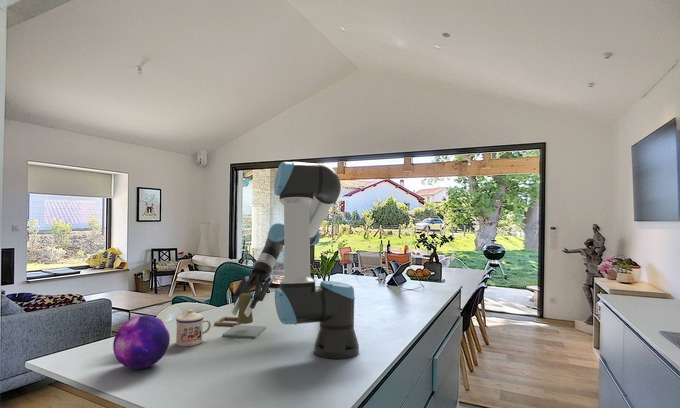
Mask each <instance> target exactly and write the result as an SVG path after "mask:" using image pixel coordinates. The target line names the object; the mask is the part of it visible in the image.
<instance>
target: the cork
mask: <svg viewBox="0 0 680 408" xmlns="http://www.w3.org/2000/svg"><path fill="white" fill-rule="evenodd" d="M253 297H254V296H253V295H252V294H251V293H249V292H248V293H243V294H241V295H240V296H239V301H240V308H239V310H238V313H237V314H238V315H237V317H238V320H237V321H236V322H237V323H240V324H239V325H247V324H251V323H253V322H254V317H253V310H252V311H251V313H250V315H249V317H246V315H245V314H244V312H245V310H246V308H247V306H248V304H249V302H250V300H251V299H254V298H253Z"/></svg>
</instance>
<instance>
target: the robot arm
mask: <svg viewBox="0 0 680 408" xmlns="http://www.w3.org/2000/svg"><path fill="white" fill-rule="evenodd" d="M339 177H340V176H339V175H338V174H337V172H336V170H334V169H333V168H332V167H331V166H330V165H327V164H325V163H311V162H300V161H283V162H281V163H280V164H279V165H278V167H277V169H276V175H275V178H274V183H273V184H274V185H273V186H274V187H273V189H274V190H273V191H274V194H275V196H277V197H279V202H280V204H281V205H282V206H283V223H280V222H275V223H273V224H272V225H271V226H270V228H269V230H268V233H267V238H266V241H265V244H264V247H263V249H262V250H261V252H260V254H259V256H258V258H257V260H256V262H255V263H254V266H253V267H252V271H251V273H250V274H249V275H248V276H246V275H242V276H241V281H240V283H239V285H238V286H237V288H236V290H235V292H234V294H233V296H234V297H235V300H234V302H233V307H232V309H231V310H230V312H231V314H232V315H233V316H236V315H237V314H238V313H239V308H240V301H239V296H240V295H241V294H243V293H249V291H250V290H251V289H252V288H254V286H255V288H254V293H253V296H252V297H253V298H252V299H251V300H250V302H249V304H248V306H247V308H246V310H245V312H244V314H245V315H246V317H249V315H250V313H251V311H252V312H253V310H255V307H256V306H257V304H258V302H263V301H264V299H265V297H266V295H267V292H268V291H269V288H270V286H271V285H272V284H273V280H272V278H271V277H270V274H271V273H272V270H273V268H274V267H275V264H276V262H277V260H278V258H279V256H280V254H281V252H282V251H284V252H283V253H284V254H283V255H284V259H283V260H284V261H283V262H284V277H283V279H282V280H281V281H280V282H279V287H277V288H276V289H275V290H274V304H275V311H276V313H277V314H276V315H277V317H278V320H279V321H280V322H281V324H283V325H295V326H296V325H300V324H301V325H302V324H313V323H319V330H318V333H317V335H316V339H315V341H314V344H313V346H314V347H313V348H314V349H313V350H314V353H315V355H316V356H319V357H321V358H326V359H332V360H342V359H343V360H344V359H349V358H352V357H355V356H357V355H358V354H359V352H360V346H359V340H358V338H357V334H356V331H355V299H356V298H355V288H354V287H353V286H352V285H351V284H348V283H345V282H339V281H332V280H323V281H320V283H319V286H318V285H317V286H316V280H315V279H314V278H313V277H312V276H311V246H316V245H318V244H319V243H320V239H321V233H320V228H321V225H322V223H324V220H325V218H326V216H327V214H328V212H329V210H330V208H331V206H332V205H333V204H335V203H336V202H337V201H338V198H339V197H340V194H341V190H342V186H341V185H342V184H341V180H340V178H339ZM283 248H284V250H283Z"/></svg>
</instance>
